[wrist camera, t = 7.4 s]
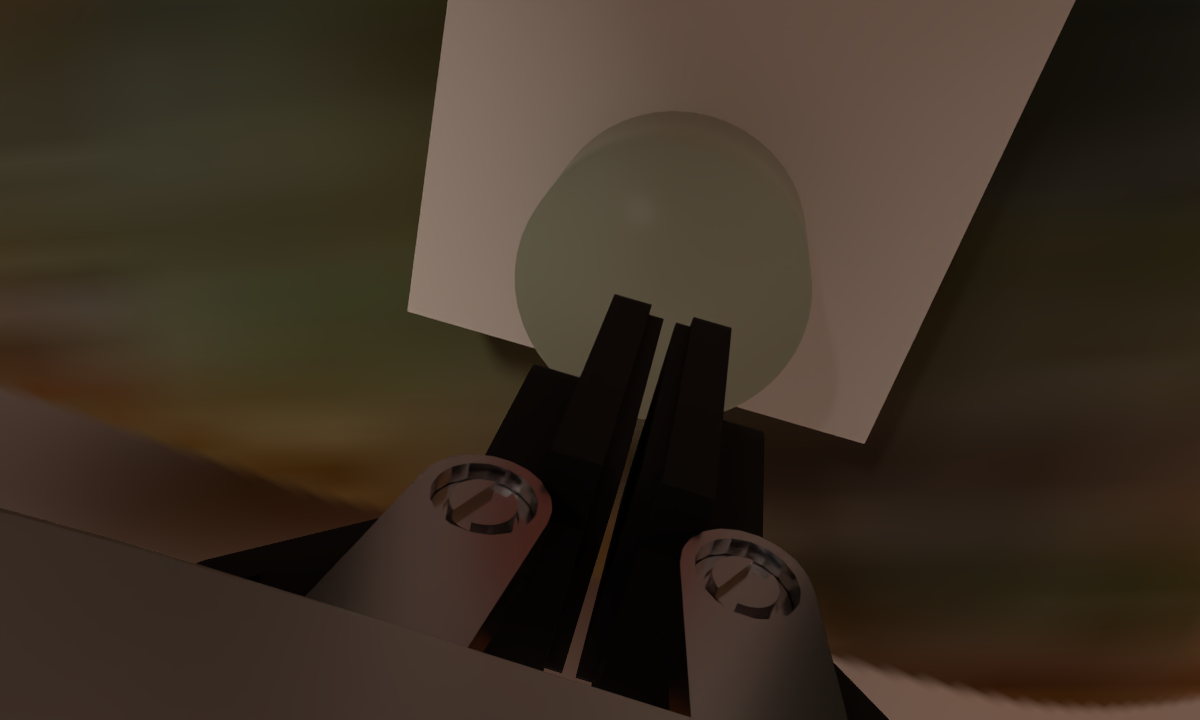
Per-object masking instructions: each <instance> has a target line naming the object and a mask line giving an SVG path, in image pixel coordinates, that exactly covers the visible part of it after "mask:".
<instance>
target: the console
mask: <svg viewBox="0 0 1200 720" xmlns="http://www.w3.org/2000/svg"><path fill="white" fill-rule="evenodd" d="M1074 2H1075V0H448V3H447V10H446V18H445V26H444V34H443V41H442V49H441V57H440V64H439V72H438V80H437V87H436V95H435V103H434V111H433V118H432V126H431V134H430V141H429V149H428V157H427V165H426V172H425V180H424V188H423V195H422V203H421V211H420V218H419V226H418V234H417V242H416V249H415V257H414V265H413V272H412V280H411V288H410V295H409V303H408V312H411V313H415V314H418V315H422V316H425V317H429V318H432V319H435V320H439V321H442V322H446V323H449V324H453V325H456V326H460V327H463V328H466V329H470V330H473V331H477V332H480V333H484V334H487V335H491V336H494V337H497V338H501V339H504V340H508V341H511V342H515V343H518V344H522V345H525V346H528V347H532V348H534V346H533V344H532V343H531V341H530V339H529V337H528V335H527V332H526V330H525V328H524V326H523V323H522V320H521V316H520V313H519V310H518V306H517V300H516V293H515V264H516V256H517V251H518V248H519V244H520V240H521V237H522V234H523V232H524V230H525V227H526V225H527V223H528V220H529V219H530V217H531V215H532V214H533V212H534V211H535V209H536V207H537V206H538V204H539V203H540V201H541V200H542V199H543V197H544V196H545V195H546V193H547V192H548V191H549V189H550V188H551V187H552V185H553V184H554V183H555V181H556V180H557V179H558V177H559V176H560V175H561V173H562V172H563V171H564V169H565V168H566V167H567V165H568V164H569V163H570V162H571V160H572V159H573V158H574V157H575V156H576V154H577V153H578V152H579V151H580V150H581V149H582V148H583V147H584V146H585V145H586V144H587V143H588V142H590V141H591V140H592V139H593V138H594V137H596V136H597V135H599V134H600V133H602V132H603V131H605V130H606V129H608V128H610V127H612V126H614V125H616V124H618V123H620V122H622V121H625V120H628V119H631V118H633V117H636V116H640V115H645V114H650V113H655V112H667V111H681V112H693V113H698V114H703V115H708V116H712V117H715V118H718V119H720V120H723V121H726V122H729V123H731V124H733V125H734V126H736V127H738V128H740V129H742V130H744V131H746V132H747V133H749V134H750V135H751V136H753V137H754V138H756V139H757V140H759V141H760V142H761V143H762V144H763V145H764V146H765V147H766V148H767V149H769V150H770V151H771V152H772V153H773V154H774V156H775V157H776V158H777V159H778V161H779V162H780V163H781V164H782V165H783V167H784V168H785V170H786V172H787V173H788V175H789V176H790V178H791V180H792V181H793V183H794V186H795V188H796V190H797V193H798V195H799V197H800V201H801V205H802V208H803V212H804V217H805V225H806V233H807V242H808V251H809V260H810V268H811V277H812V302H811V308H810V314H809V320H808V323H807V326H806V329H805V332H804V335H803V338H802V340H801V342H800V344H799V346H798V348H797V350H796V352H795V354H794V355H793V357H792V358H791V360H790V361H789V363H788V364H787V366H786V367H785V368H784V369H783V370H782V372H781V373H780V374H779V375H778V376H777V377H776V378H775V379H774V381H772V382H771V383H770V384H769V385H768V386H767V387H765V388H764V389H763V390H762V391H761V392H759V393H758V394H756V395H755V396H753V397H752V398H750V399H749V400H747V401H746V402H744V403H742V404H740V405H738V406H736V407H739V408H742V409H746V410H749V411H753V412H756V413H759V414H763V415H766V416H770V417H773V418H777V419H780V420H784V421H787V422H790V423H794V424H797V425H801V426H804V427H808V428H811V429H815V430H818V431H821V432H825V433H828V434H832V435H835V436H839V437H842V438H846V439H849V440H852V441H856V442H859V443H863V444H865V442H866V440H867V438H868V436H869V433H870V431H871V429H872V427H873V425H874V423H875V421H876V419H877V417H878V415H879V412H880V410H881V408H882V406H883V404H884V402H885V400H886V398H887V396H888V394H889V391H890V389H891V387H892V385H893V383H894V381H895V379H896V377H897V375H898V373H899V370H900V368H901V366H902V364H903V362H904V360H905V358H906V356H907V354H908V351H909V349H910V347H911V345H912V343H913V341H914V339H915V337H916V335H917V333H918V330H919V328H920V326H921V324H922V322H923V320H924V318H925V316H926V314H927V312H928V309H929V307H930V305H931V303H932V301H933V299H934V297H935V295H936V293H937V291H938V288H939V286H940V284H941V282H942V280H943V278H944V276H945V274H946V272H947V269H948V267H949V265H950V263H951V261H952V259H953V257H954V255H955V253H956V251H957V248H958V246H959V244H960V242H961V240H962V238H963V236H964V234H965V232H966V230H967V227H968V225H969V223H970V221H971V219H972V217H973V215H974V213H975V211H976V209H977V206H978V204H979V202H980V200H981V198H982V196H983V194H984V192H985V190H986V187H987V185H988V183H989V181H990V179H991V177H992V175H993V173H994V171H995V169H996V166H997V164H998V162H999V160H1000V158H1001V156H1002V154H1003V152H1004V150H1005V148H1006V145H1007V143H1008V141H1009V139H1010V137H1011V135H1012V133H1013V131H1014V129H1015V127H1016V124H1017V122H1018V120H1019V118H1020V116H1021V114H1022V112H1023V110H1024V108H1025V105H1026V103H1027V101H1028V99H1029V97H1030V95H1031V93H1032V91H1033V89H1034V87H1035V84H1036V82H1037V80H1038V78H1039V76H1040V74H1041V72H1042V70H1043V68H1044V66H1045V63H1046V61H1047V59H1048V57H1049V55H1050V53H1051V51H1052V49H1053V47H1054V45H1055V42H1056V40H1057V38H1058V36H1059V34H1060V32H1061V30H1062V28H1063V26H1064V23H1065V21H1066V19H1067V17H1068V15H1069V13H1070V11H1071V9H1072V7H1073V5H1074Z"/></svg>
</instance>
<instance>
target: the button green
mask: <svg viewBox="0 0 1200 720" xmlns="http://www.w3.org/2000/svg"><path fill="white" fill-rule="evenodd" d="M515 293H516V300H517V306H518V310H519V313H520V316H521V320H522V323H523V326H524V328H525V330H526V332H527V335H528V337H529V339H530V341H531V343H532V344H533V346H534V348H535V349H536V351H537V353H538V354H539V355H540V357H541V358H542V359H543V361H544V362H545V363H546V364H547V366H548V367H549V368H550V369H553V370H557V371H560V372H564V373H567V374H570V375H574V376H577V377H580V376H581V374H582V371H583V369H584V366H585V364H586V362H587V359H588V357H589V354H590V352H591V350H592V347H593V345H594V342H595V340H596V338H597V335H598V333H599V330H600V328H601V325H602V323H603V321H604V318H605V316H606V313H607V311H608V309H609V306H610V304H611V301H612V299H613V296H614V294H617V295H620V296H624V297H627V298H631V299H634V300H638V301H641V302H644V303H648V304H651V305H652V306H651V310H650V313H649V315H652V316H656V317H659V318H663V319H664V321H663V324H662V328H661V332H660V336H659V339H658V343H657V347H656V351H655V354H654V358H653V362H652V366H651V369H650V373H649V377H648V381H647V384H646V388H645V392H644V396H643V399H642V403H641V407H640V411H639V414H638V418H639V419H645V420H646V417H647V413H648V410H649V407H650V404H651V400H652V397H653V394H654V391H655V387H656V384H657V381H658V378H659V375H660V371H661V368H662V365H663V362H664V358H665V355H666V352H667V349H668V346H669V342H670V339H671V336H672V333H673V330H674V326H675V324H676V323H680V324H683V325H687V326H690V325H691V322H692V319H693V317H696V318H700V319H703V320H706V321H710V322H713V323H717V324H720V325H724V326H727V327H731V328H732V332H731V342H730V352H729V362H728V373H727V383H726V393H725V404H724V411H727V410H730V409H732V408H734V407H736V406H738V405H740V404H742V403H744V402H746V401H747V400H749V399H750V398H752V397H753V396H755V395H756V394H758V393H759V392H761V391H762V390H763V389H764V388H765V387H767V386H768V385H769V384H770V383H771V382H772V381H774V379H775V378H776V377H777V376H778V375H779V374H780V373H781V372H782V370H783V369H784V368H785V367H786V366H787V364H788V363H789V361H790V360H791V358H792V357H793V355H794V354H795V352H796V350H797V348H798V346H799V344H800V342H801V340H802V338H803V335H804V332H805V329H806V326H807V323H808V320H809V314H810V308H811V302H812V277H811V268H810V260H809V251H808V242H807V233H806V225H805V217H804V212H803V208H802V205H801V201H800V197H799V195H798V193H797V190H796V188H795V186H794V183H793V181H792V180H791V178H790V176H789V175H788V173H787V172H786V170H785V168H784V167H783V165H782V164H781V163H780V162H779V161H778V159H777V158H776V157H775V156H774V154H773V153H772V152H771V151H770V150H769V149H767V148H766V147H765V146H764V145H763V144H762V143H761V142H760V141H759V140H757V139H756V138H754V137H753V136H751V135H750V134H749V133H747V132H746V131H744V130H742V129H740V128H738V127H736V126H734V125H733V124H731V123H729V122H726V121H723V120H720V119H718V118H715V117H712V116H708V115H703V114H698V113H693V112H681V111H667V112H655V113H650V114H645V115H640V116H636V117H633V118H631V119H628V120H625V121H622V122H620V123H618V124H616V125H614V126H612V127H610V128H608V129H606V130H605V131H603V132H602V133H600V134H599V135H597V136H596V137H594V138H593V139H592V140H591V141H590V142H588V143H587V144H586V145H585V146H584V147H583V148H582V149H581V150H580V151H579V152H578V153H577V154H576V156H575V157H574V158H573V159H572V160H571V162H570V163H569V164H568V165H567V167H566V168H565V169H564V171H563V172H562V173H561V175H560V176H559V177H558V179H557V180H556V181H555V183H554V184H553V185H552V187H551V188H550V189H549V191H548V192H547V193H546V195H545V196H544V197H543V199H542V200H541V201H540V203H539V204H538V206H537V207H536V209H535V211H534V212H533V214H532V215H531V217H530V219H529V220H528V223H527V225H526V227H525V230H524V232H523V234H522V237H521V240H520V244H519V248H518V251H517V256H516V264H515Z"/></svg>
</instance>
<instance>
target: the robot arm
mask: <svg viewBox="0 0 1200 720" xmlns="http://www.w3.org/2000/svg"><path fill="white" fill-rule="evenodd" d="M651 306H652V305H651V304H648V303H644V302H641V301H638V300H634V299H631V298H627V297H624V296H620V295H617V294H614V296H613V299H612V301H611V304H610V306H609V309H608V311H607V313H606V316H605V318H604V321H603V323H602V325H601V328H600V330H599V333H598V335H597V338H596V340H595V342H594V345H593V347H592V350H591V352H590V354H589V357H588V359H587V362H586V364H585V366H584V369H583V371H582V374H581V376H580V377H577V376H574V375H570V374H567V373H564V372H560V371H557V370H553V369H550V368H547V367H543V366H540V365H536V364H534V365H533V366H532V368H531V370H530V371H529V373H528V375H527V377H526V379H525V381H524V383H523V385H522V386H521V388H520V390H519V392H518V394H517V396H516V398H515V400H514V402H513V403H512V405H511V407H510V409H509V411H508V413H507V415H506V417H505V419H504V420H503V422H502V424H501V426H500V428H499V430H498V432H497V434H496V436H495V437H494V439H493V441H492V443H491V445H490V447H489V449H488V451H487V453H486V454H485V455H476V454H470V455H460V456H453V457H450V458H447V459H444V460H441V461H438V462H436V463H435V464H433V465H432V466H430V467H429V468H428V469H426V470H425V471H424V472H423V473H422V474H421V475H420V476H419V477H418V478H417V479H416V480H415V481H414V482H413V483H412V484H411V485H410V486H409V487H408V488H407V489H406V491H405V492H404V493H403V494H402V495H401V496H400V497H399V498H398V499H397V500H396V501H395V502H394V503H393V504H392V505H391V506H390V507H389V508H388V510H387V511H386V512H385V513H384V514H383V515H382V516H381V517H380V518H378V519H373V520H369V521H365V522H361V523H357V524H353V525H349V526H345V527H340V528H336V529H332V530H328V531H324V532H320V533H315V534H311V535H307V536H303V537H299V538H295V539H290V540H286V541H282V542H278V543H274V544H270V545H266V546H262V547H257V548H253V549H249V550H245V551H241V552H236V553H232V554H228V555H224V556H220V557H216V558H212V559H208V560H204V561H201V562H198V563H196V564H195V563H192V562H189V561H185V560H182V559H179V558H176V557H172V556H169V555H166V554H163V553H159V552H156V551H153V550H150V549H146V548H143V547H140V546H136V545H133V544H130V543H126V542H123V541H120V540H117V539H113V538H109V537H106V536H102V535H98V534H95V533H91V532H87V531H83V530H80V529H76V528H73V527H69V526H65V525H62V524H58V523H54V522H51V521H47V520H43V519H40V518H36V517H32V516H28V515H25V514H21V513H18V512H14V511H10V510H7V509H3V508H0V720H889V719H888V718H887V717H886V716H885V715H884V714H883V713H882V712H881V711H880V710H879V709H878V708H877V707H876V706H875V705H874V704H873V703H872V702H871V701H870V700H869V699H868V698H867V696H866V695H865V694H864V693H863V692H862V691H861V690H860V689H859V688H858V687H857V686H856V685H855V684H854V683H853V682H852V681H851V680H850V679H849V678H848V677H847V676H846V675H845V674H844V673H843V672H842V671H841V670H840V669H839V668H838V667H837V666H836V665H835V664H834V663H833V660H832V656H831V652H830V648H829V644H828V641H827V637H826V633H825V629H824V625H823V621H822V617H821V613H820V610H819V606H818V602H817V598H816V594H815V590H814V588H813V586H812V583H811V581H810V579H809V577H808V575H807V573H806V572H805V571H804V570H803V568H802V567H801V566H800V565H799V564H798V562H797V561H796V560H795V559H794V558H793V557H792V556H790V555H789V554H788V553H786V552H785V551H784V550H783V549H781V548H780V547H779V546H777V545H775V544H773V543H771V542H769V541H767V540H766V539H764V538H763V483H764V433H763V432H762V431H760V430H756V429H753V428H750V427H746V426H743V425H739V424H736V423H733V422H729V421H726V420H723V414H724V404H725V393H726V383H727V373H728V362H729V352H730V342H731V332H732V328H731V327H727V326H724V325H720V324H717V323H713V322H710V321H706V320H703V319H700V318H696V317H693V319H692V322H691V325H690V326H687V325H683V324H680V323H676V324H675V326H674V330H673V333H672V336H671V339H670V342H669V346H668V349H667V352H666V355H665V358H664V362H663V365H662V368H661V371H660V375H659V378H658V381H657V384H656V387H655V391H654V394H653V397H652V400H651V404H650V407H649V410H648V413H647V417H646V420H645V423H644V426H643V429H642V433H641V436H640V439H639V442H638V446H637V449H636V452H635V455H634V458H633V462H632V465H631V468H630V471H629V475H628V478H627V481H626V485H625V488H624V492H623V495H622V499H621V503H620V507H619V511H618V514H617V518H616V522H615V526H614V530H613V534H612V538H611V542H610V546H609V549H608V553H607V557H606V561H605V565H604V569H603V573H602V577H601V581H600V584H599V588H598V592H597V596H596V600H595V604H594V608H593V612H592V616H591V619H590V623H589V627H588V631H587V635H586V639H585V643H584V647H583V651H582V655H581V658H580V662H579V667H578V670H577V674H576V678H579V679H582V680H585V681H588V682H592V686H588V685H585V684H582V683H579V682H576V681H572V680H569V679H566V678H563V677H560V676H556V675H553V674H550V673H547V672H544V668H547V669H550V670H553V671H556V672H559V673H562V671H563V667H564V664H565V661H566V658H567V654H568V651H569V648H570V644H571V641H572V638H573V635H574V631H575V628H576V625H577V622H578V618H579V615H580V612H581V608H582V605H583V602H584V599H585V595H586V592H587V589H588V585H589V582H590V579H591V576H592V573H593V569H594V566H595V563H596V559H597V556H598V553H599V550H600V546H601V543H602V540H603V537H604V533H605V530H606V527H607V523H608V520H609V517H610V514H611V510H612V507H613V504H614V501H615V497H616V494H617V491H618V487H619V484H620V480H621V477H622V473H623V470H624V466H625V463H626V459H627V456H628V452H629V448H630V444H631V441H632V437H633V433H634V429H635V426H636V422H637V418H638V414H639V411H640V407H641V403H642V399H643V396H644V392H645V388H646V384H647V381H648V377H649V373H650V369H651V366H652V362H653V358H654V354H655V351H656V347H657V343H658V339H659V336H660V332H661V328H662V324H663V321H664V319H663V318H659V317H656V316H652V315H649V313H650V310H651Z"/></svg>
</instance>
